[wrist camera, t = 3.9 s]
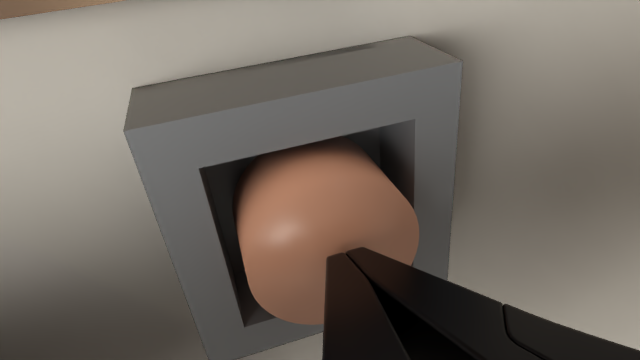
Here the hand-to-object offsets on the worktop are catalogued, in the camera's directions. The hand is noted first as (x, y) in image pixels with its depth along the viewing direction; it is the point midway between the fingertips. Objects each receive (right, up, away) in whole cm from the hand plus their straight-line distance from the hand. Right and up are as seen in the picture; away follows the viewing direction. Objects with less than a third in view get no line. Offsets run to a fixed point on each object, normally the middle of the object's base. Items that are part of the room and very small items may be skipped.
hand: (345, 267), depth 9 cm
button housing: (-1, +2, +3) cm, 4 cm away
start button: (-1, +1, +2) cm, 3 cm away
